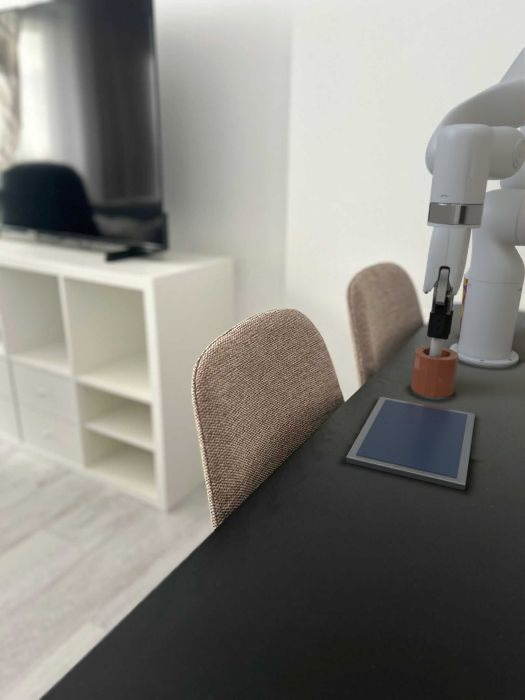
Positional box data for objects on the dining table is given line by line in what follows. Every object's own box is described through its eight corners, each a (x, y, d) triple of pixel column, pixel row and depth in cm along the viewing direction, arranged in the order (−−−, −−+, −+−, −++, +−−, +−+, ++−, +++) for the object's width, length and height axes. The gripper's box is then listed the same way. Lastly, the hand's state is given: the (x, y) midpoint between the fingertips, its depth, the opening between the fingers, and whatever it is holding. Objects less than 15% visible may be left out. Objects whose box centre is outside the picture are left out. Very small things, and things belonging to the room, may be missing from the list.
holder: (413, 381, 89) (418, 343, 86) (454, 388, 86) (460, 349, 84) (407, 396, 83) (411, 355, 81) (450, 404, 80) (457, 362, 78)
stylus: (425, 382, 85) (438, 297, 80) (437, 384, 84) (450, 299, 80) (424, 386, 84) (436, 300, 79) (435, 388, 83) (448, 301, 78)
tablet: (379, 400, 81) (380, 395, 81) (474, 418, 76) (475, 412, 76) (345, 462, 64) (345, 456, 64) (464, 490, 59) (465, 484, 58)
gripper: (434, 211, 83) (421, 320, 89) (420, 218, 70) (405, 346, 76) (484, 213, 80) (467, 326, 87) (479, 221, 67) (459, 354, 73)
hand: (438, 334), depth 81 cm, fingers closed on stylus, 1 cm apart
